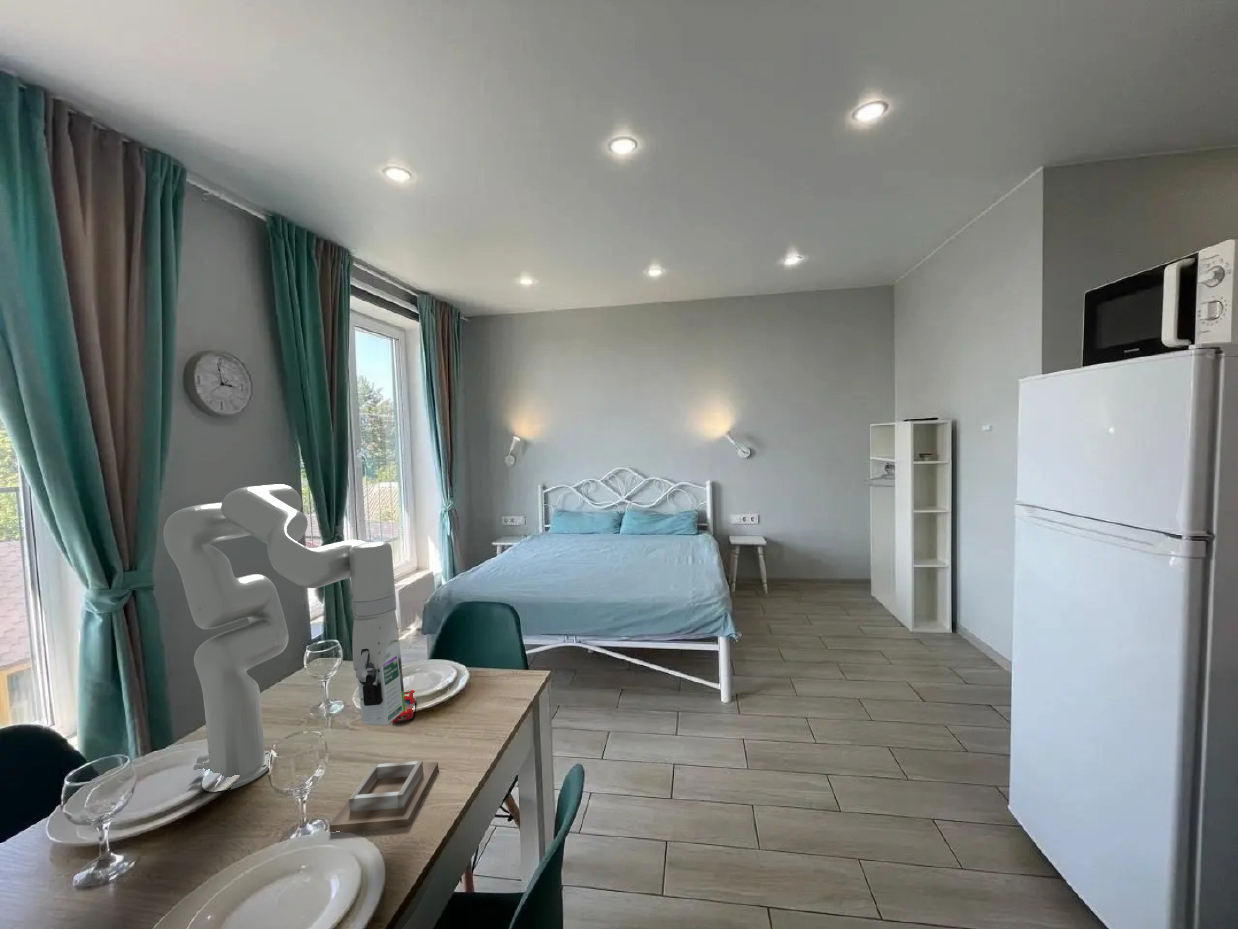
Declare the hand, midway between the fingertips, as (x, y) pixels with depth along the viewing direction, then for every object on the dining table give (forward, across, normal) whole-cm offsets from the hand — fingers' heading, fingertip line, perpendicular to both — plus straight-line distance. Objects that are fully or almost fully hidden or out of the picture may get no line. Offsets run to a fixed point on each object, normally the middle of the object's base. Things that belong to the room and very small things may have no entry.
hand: (382, 694), depth 95 cm
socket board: (+21, 0, 0) cm, 21 cm away
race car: (+22, -34, -11) cm, 42 cm away
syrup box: (+5, 0, 0) cm, 5 cm away
